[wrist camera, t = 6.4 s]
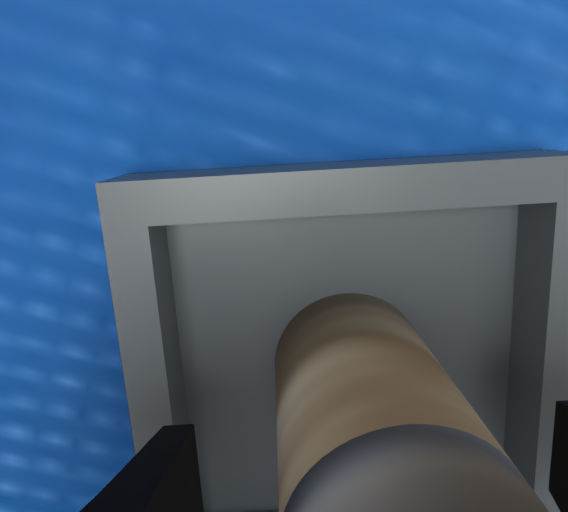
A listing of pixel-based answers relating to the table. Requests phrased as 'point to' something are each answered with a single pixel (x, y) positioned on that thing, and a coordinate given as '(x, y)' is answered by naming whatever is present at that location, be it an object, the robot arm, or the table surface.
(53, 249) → the table surface
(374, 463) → the cylinder
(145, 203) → the tray
